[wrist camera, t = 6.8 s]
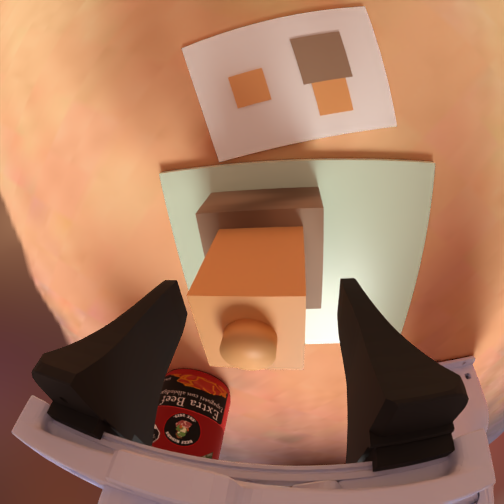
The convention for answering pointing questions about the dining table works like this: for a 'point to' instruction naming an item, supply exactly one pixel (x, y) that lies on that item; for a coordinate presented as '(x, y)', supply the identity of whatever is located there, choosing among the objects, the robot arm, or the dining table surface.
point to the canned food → (191, 414)
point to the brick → (252, 299)
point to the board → (328, 224)
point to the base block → (271, 223)
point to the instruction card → (291, 81)
